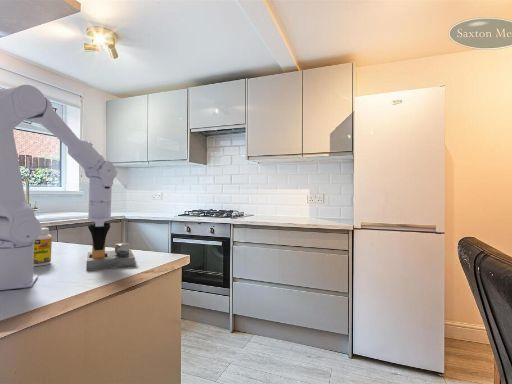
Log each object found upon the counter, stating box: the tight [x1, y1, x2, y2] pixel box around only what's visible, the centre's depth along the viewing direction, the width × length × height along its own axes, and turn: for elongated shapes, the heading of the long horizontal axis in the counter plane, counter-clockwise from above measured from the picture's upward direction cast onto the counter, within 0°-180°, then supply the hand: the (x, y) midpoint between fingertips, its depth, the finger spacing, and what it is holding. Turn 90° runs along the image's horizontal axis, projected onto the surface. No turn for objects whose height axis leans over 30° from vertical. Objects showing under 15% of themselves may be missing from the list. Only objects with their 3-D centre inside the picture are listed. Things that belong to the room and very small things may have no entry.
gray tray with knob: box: [85, 242, 136, 271], centre depth 85 cm, size 12×12×6 cm
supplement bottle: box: [33, 227, 53, 267], centre depth 82 cm, size 6×6×10 cm
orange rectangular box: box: [91, 239, 107, 258], centre depth 84 cm, size 3×3×7 cm
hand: (98, 248), depth 84 cm, fingers closed on orange rectangular box, 3 cm apart
